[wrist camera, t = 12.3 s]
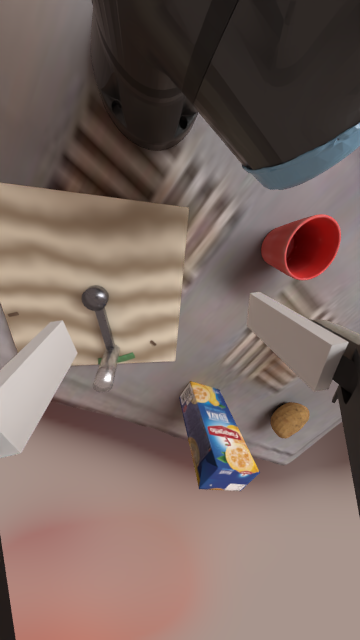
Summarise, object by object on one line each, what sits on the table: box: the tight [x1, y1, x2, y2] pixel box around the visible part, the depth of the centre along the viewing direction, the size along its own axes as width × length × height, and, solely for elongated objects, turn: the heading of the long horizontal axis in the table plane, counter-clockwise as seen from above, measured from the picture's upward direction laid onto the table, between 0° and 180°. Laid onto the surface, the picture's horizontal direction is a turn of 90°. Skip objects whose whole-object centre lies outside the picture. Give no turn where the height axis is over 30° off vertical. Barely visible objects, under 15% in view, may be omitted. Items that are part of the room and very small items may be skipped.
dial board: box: [0, 183, 189, 366], centre depth 36 cm, size 34×34×2 cm
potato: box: [271, 402, 309, 438], centre depth 63 cm, size 10×14×8 cm
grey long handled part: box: [81, 285, 120, 393], centre depth 33 cm, size 17×4×11 cm, turn 4°
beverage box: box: [179, 381, 260, 491], centre depth 45 cm, size 7×11×22 cm, turn 61°
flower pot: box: [261, 214, 341, 280], centre depth 35 cm, size 11×11×10 cm
